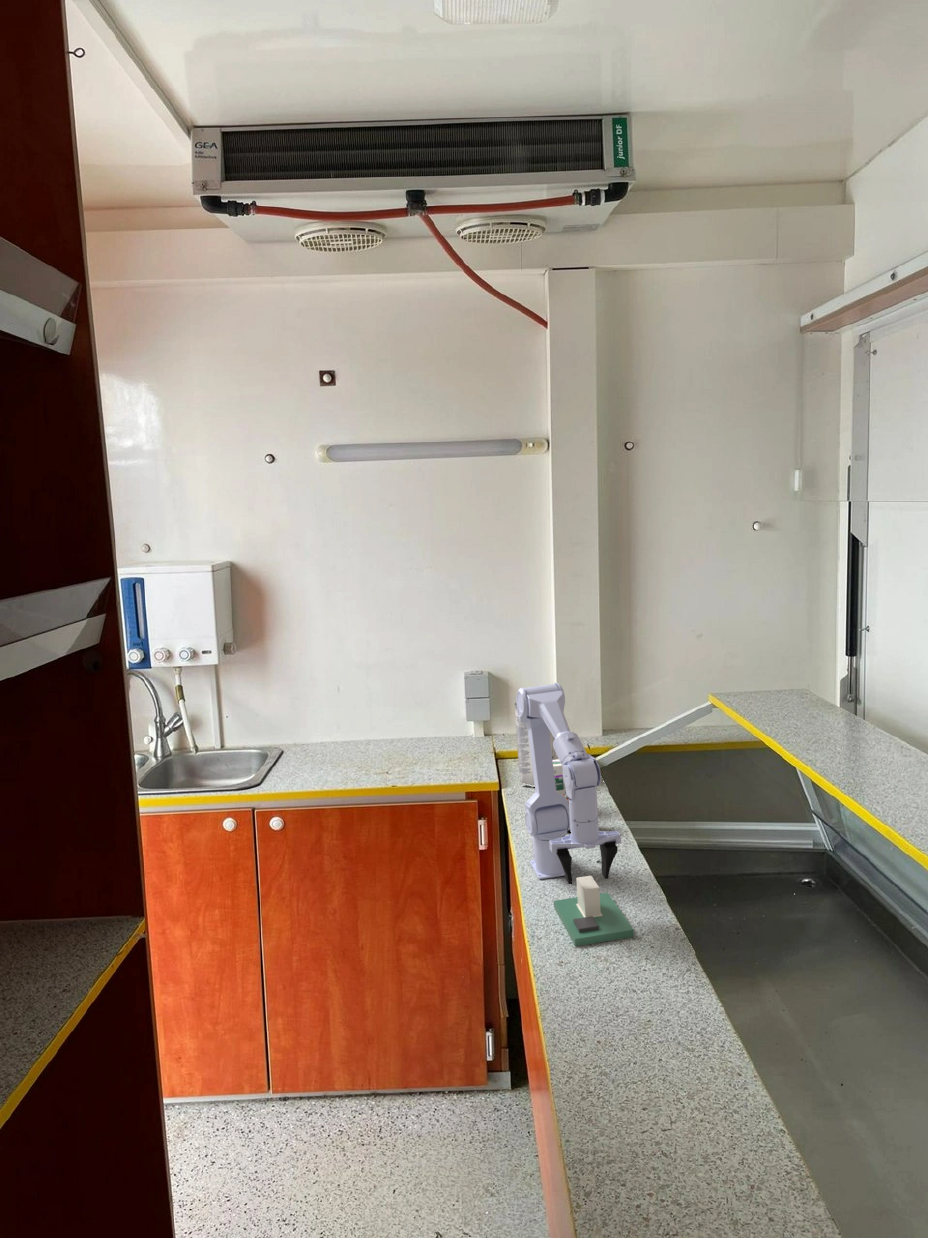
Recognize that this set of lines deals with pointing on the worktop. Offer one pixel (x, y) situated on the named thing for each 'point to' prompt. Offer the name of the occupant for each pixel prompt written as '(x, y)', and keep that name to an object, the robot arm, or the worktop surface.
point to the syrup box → (559, 777)
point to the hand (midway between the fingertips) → (587, 879)
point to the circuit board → (593, 921)
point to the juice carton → (527, 751)
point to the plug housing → (588, 896)
